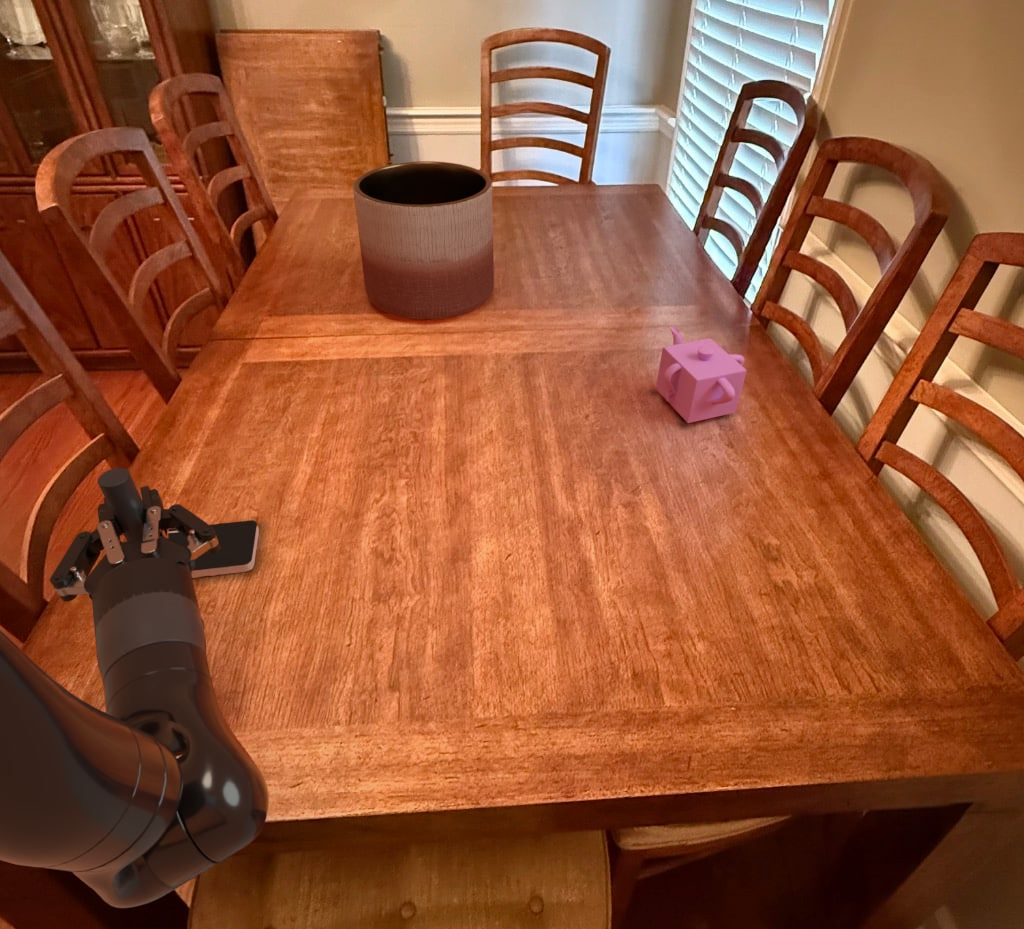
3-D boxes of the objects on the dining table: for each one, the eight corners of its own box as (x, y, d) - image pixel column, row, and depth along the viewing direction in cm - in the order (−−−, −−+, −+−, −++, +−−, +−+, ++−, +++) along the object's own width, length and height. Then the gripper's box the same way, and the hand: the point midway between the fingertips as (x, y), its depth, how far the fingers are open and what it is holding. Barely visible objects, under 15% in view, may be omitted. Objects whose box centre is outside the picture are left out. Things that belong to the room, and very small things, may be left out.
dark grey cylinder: (157, 580, 68) (113, 489, 60) (136, 572, 69) (90, 482, 61) (176, 562, 70) (135, 471, 62) (156, 554, 71) (113, 464, 63)
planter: (360, 274, 146) (345, 165, 132) (478, 262, 151) (475, 156, 137) (374, 332, 127) (359, 212, 113) (508, 316, 133) (509, 200, 118)
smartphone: (251, 564, 83) (116, 579, 80) (253, 571, 83) (120, 587, 81) (257, 519, 88) (132, 532, 86) (259, 527, 89) (135, 540, 87)
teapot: (629, 380, 116) (637, 326, 110) (701, 365, 120) (713, 312, 113) (685, 442, 103) (698, 385, 97) (764, 424, 107) (781, 368, 100)
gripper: (228, 567, 55) (194, 446, 67) (29, 634, 50) (29, 491, 62) (250, 625, 60) (214, 503, 72) (71, 692, 55) (64, 549, 67)
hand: (129, 498), depth 67 cm, fingers closed on dark grey cylinder, 2 cm apart
